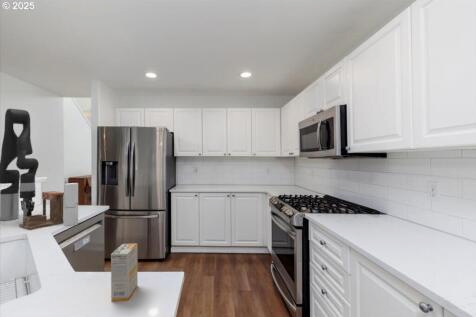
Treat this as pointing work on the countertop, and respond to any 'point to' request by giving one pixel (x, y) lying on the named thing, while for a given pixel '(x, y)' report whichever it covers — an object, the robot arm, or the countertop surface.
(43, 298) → the countertop surface
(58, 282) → the countertop surface
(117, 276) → the supplement box
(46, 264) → the countertop surface
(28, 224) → the wooden frame stand
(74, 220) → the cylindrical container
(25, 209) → the steel peg
